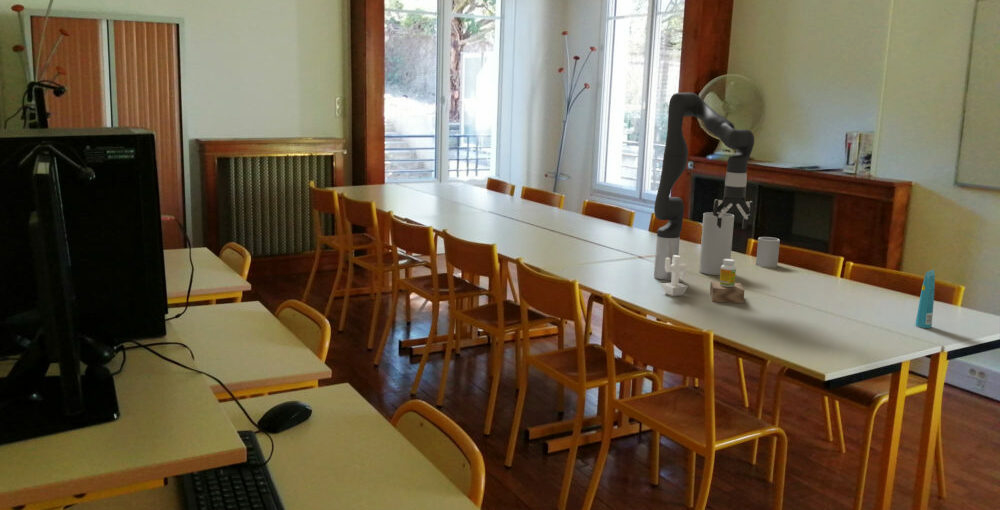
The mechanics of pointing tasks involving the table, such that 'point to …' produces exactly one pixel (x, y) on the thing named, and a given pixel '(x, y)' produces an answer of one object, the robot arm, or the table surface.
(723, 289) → the walnut block
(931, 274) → the tube
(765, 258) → the cup
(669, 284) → the figurine
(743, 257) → the table surface
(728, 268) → the supplement bottle
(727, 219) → the cylinder vase
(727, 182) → the robot arm
